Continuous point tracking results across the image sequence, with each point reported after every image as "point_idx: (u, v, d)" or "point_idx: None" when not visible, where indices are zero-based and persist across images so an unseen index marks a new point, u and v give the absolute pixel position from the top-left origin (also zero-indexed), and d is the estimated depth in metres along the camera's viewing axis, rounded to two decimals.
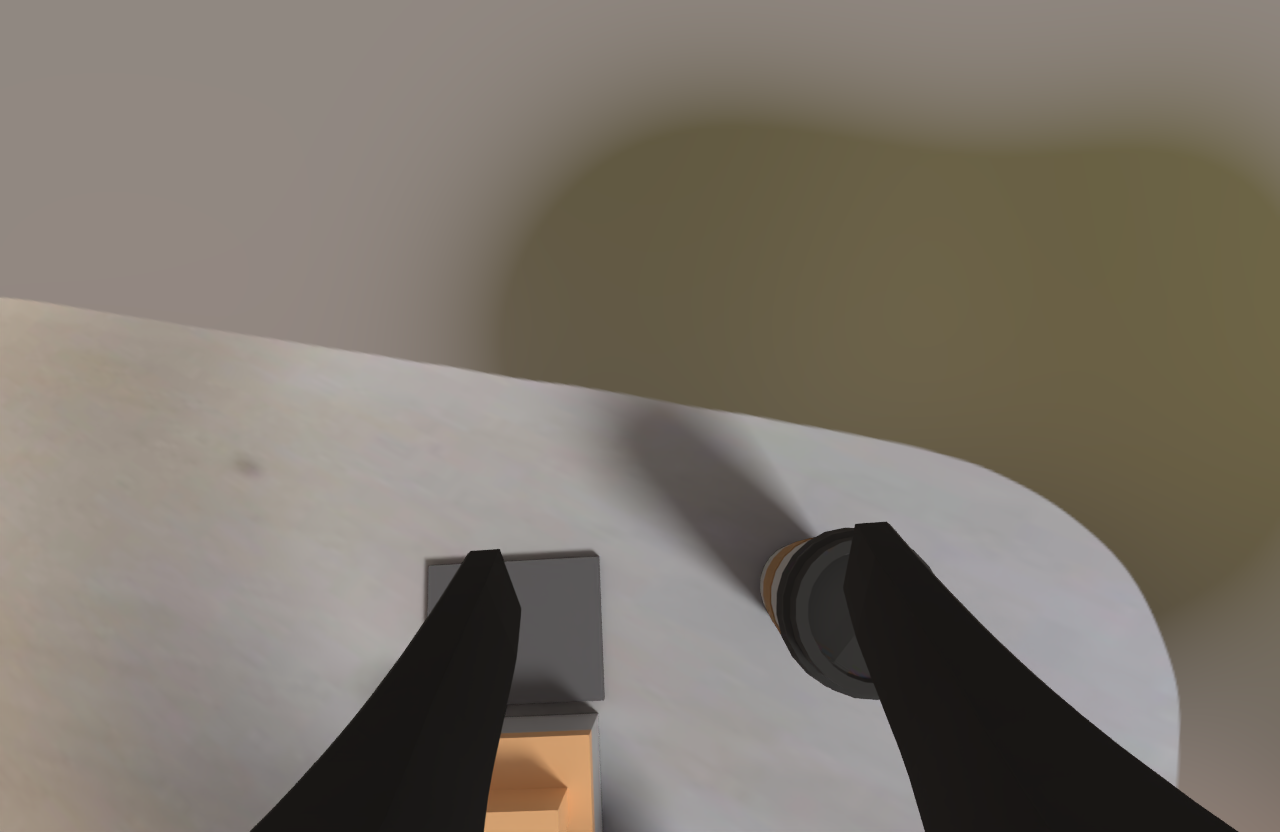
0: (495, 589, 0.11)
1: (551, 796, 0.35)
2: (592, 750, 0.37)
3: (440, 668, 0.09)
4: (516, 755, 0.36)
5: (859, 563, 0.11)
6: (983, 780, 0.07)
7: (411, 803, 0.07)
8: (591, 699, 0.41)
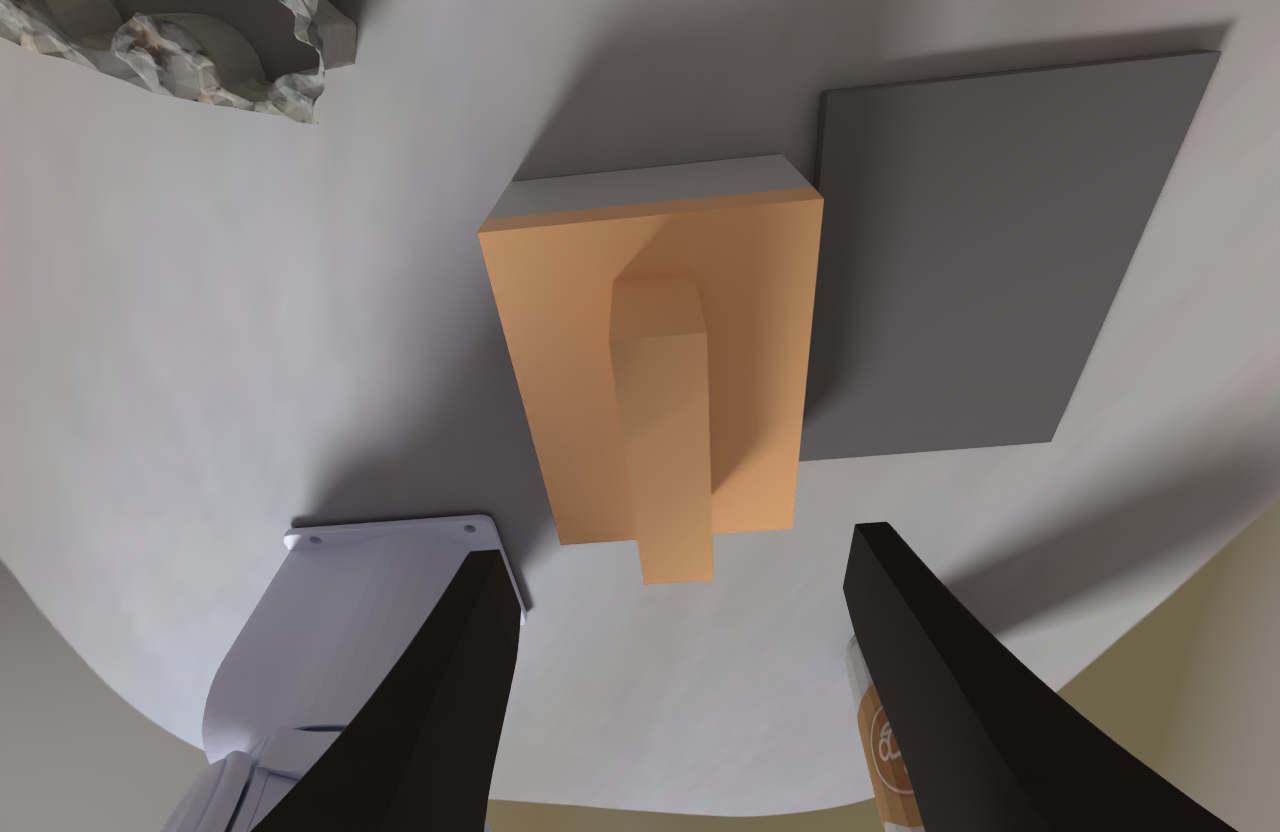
0: (495, 589, 0.11)
1: None
2: None
3: (440, 668, 0.09)
4: (767, 420, 0.17)
5: (859, 563, 0.11)
6: (983, 780, 0.07)
7: (411, 803, 0.07)
8: None
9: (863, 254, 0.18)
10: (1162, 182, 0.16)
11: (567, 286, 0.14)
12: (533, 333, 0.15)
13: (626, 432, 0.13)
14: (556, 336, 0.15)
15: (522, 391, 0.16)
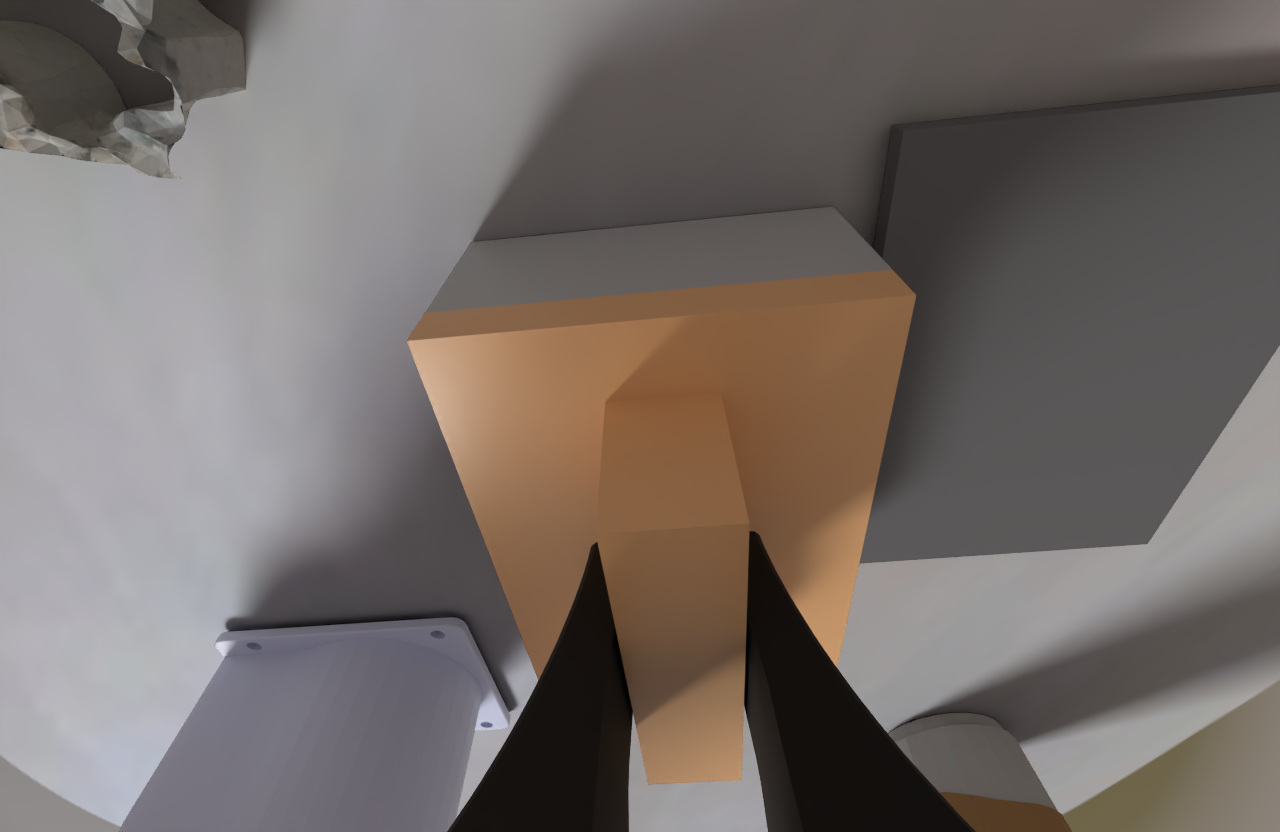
0: None
1: None
2: None
3: (601, 658, 0.09)
4: (812, 562, 0.12)
5: None
6: (783, 790, 0.07)
7: (602, 794, 0.07)
8: None
9: (935, 333, 0.13)
10: None
11: (540, 408, 0.10)
12: (495, 464, 0.11)
13: (624, 636, 0.09)
14: (527, 467, 0.11)
15: (484, 530, 0.12)
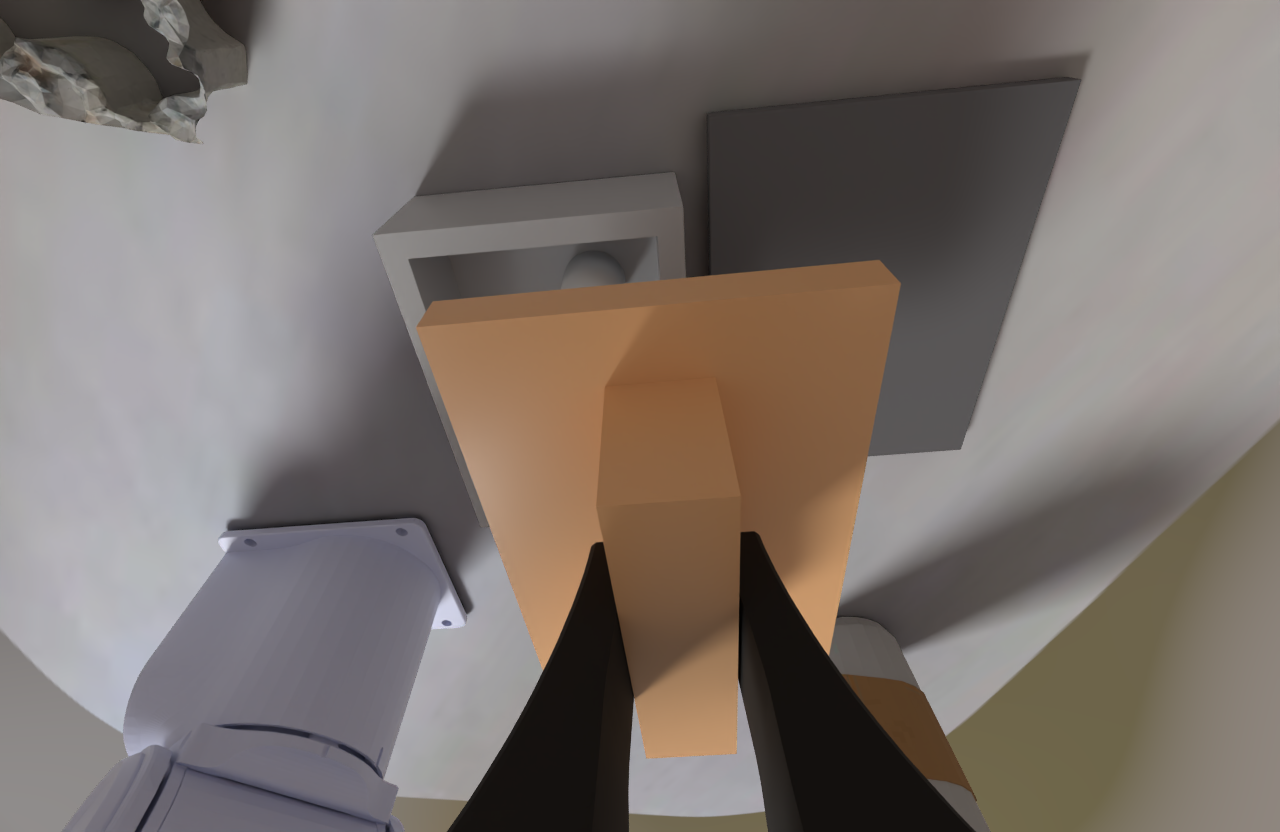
0: None
1: None
2: None
3: (601, 658, 0.09)
4: (804, 544, 0.13)
5: None
6: (783, 790, 0.07)
7: (602, 794, 0.07)
8: None
9: (759, 268, 0.18)
10: (1039, 202, 0.17)
11: (543, 392, 0.10)
12: (499, 448, 0.11)
13: (622, 608, 0.09)
14: (530, 451, 0.11)
15: (488, 512, 0.12)
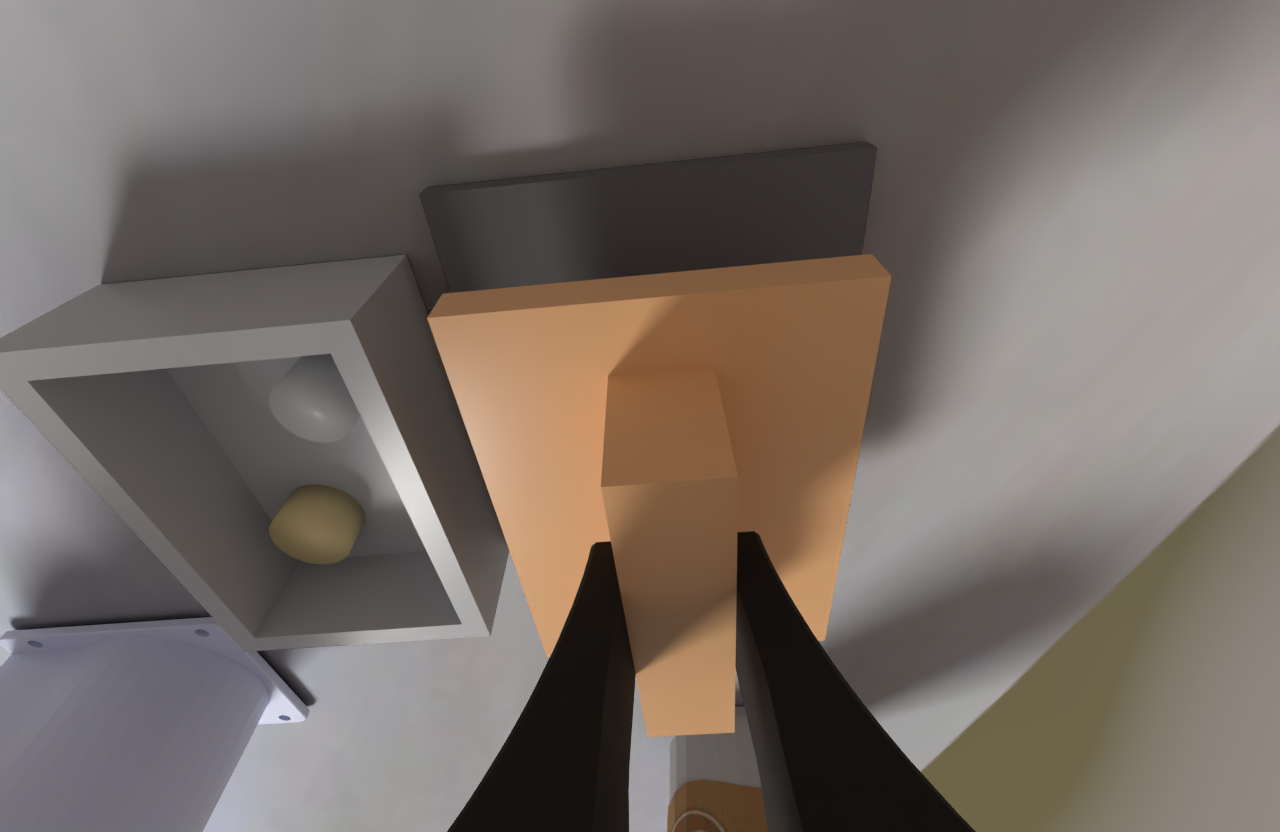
0: None
1: None
2: None
3: (602, 658, 0.09)
4: (801, 530, 0.13)
5: None
6: (783, 790, 0.07)
7: (602, 794, 0.07)
8: None
9: None
10: None
11: (548, 381, 0.11)
12: (506, 435, 0.12)
13: (625, 587, 0.10)
14: (536, 438, 0.12)
15: (494, 499, 0.13)
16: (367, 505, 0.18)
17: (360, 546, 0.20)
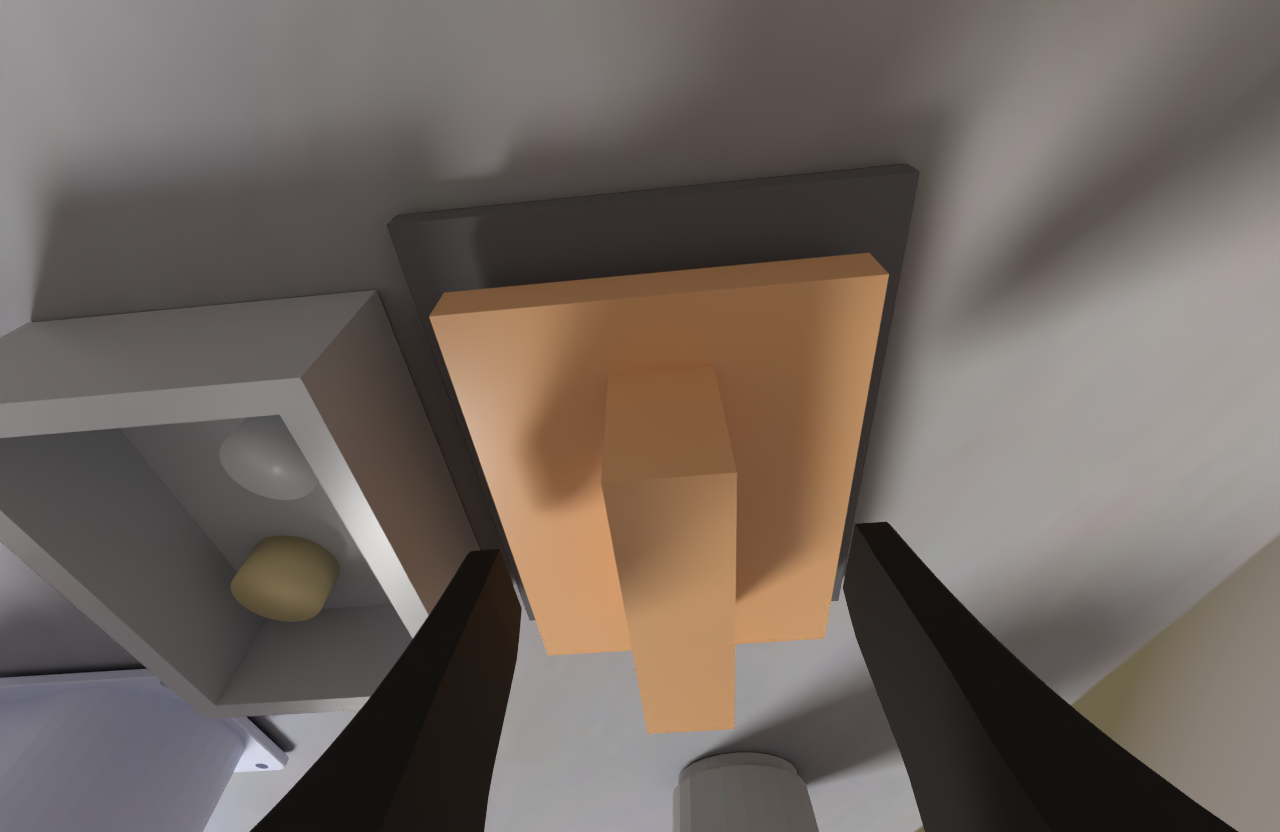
0: (495, 589, 0.11)
1: None
2: None
3: (440, 668, 0.09)
4: (800, 528, 0.13)
5: (859, 563, 0.11)
6: (983, 780, 0.07)
7: (411, 803, 0.07)
8: (526, 605, 0.18)
9: None
10: (886, 328, 0.12)
11: (549, 379, 0.11)
12: (507, 434, 0.12)
13: (625, 582, 0.10)
14: (536, 436, 0.12)
15: (495, 497, 0.13)
16: (341, 556, 0.17)
17: (335, 598, 0.18)
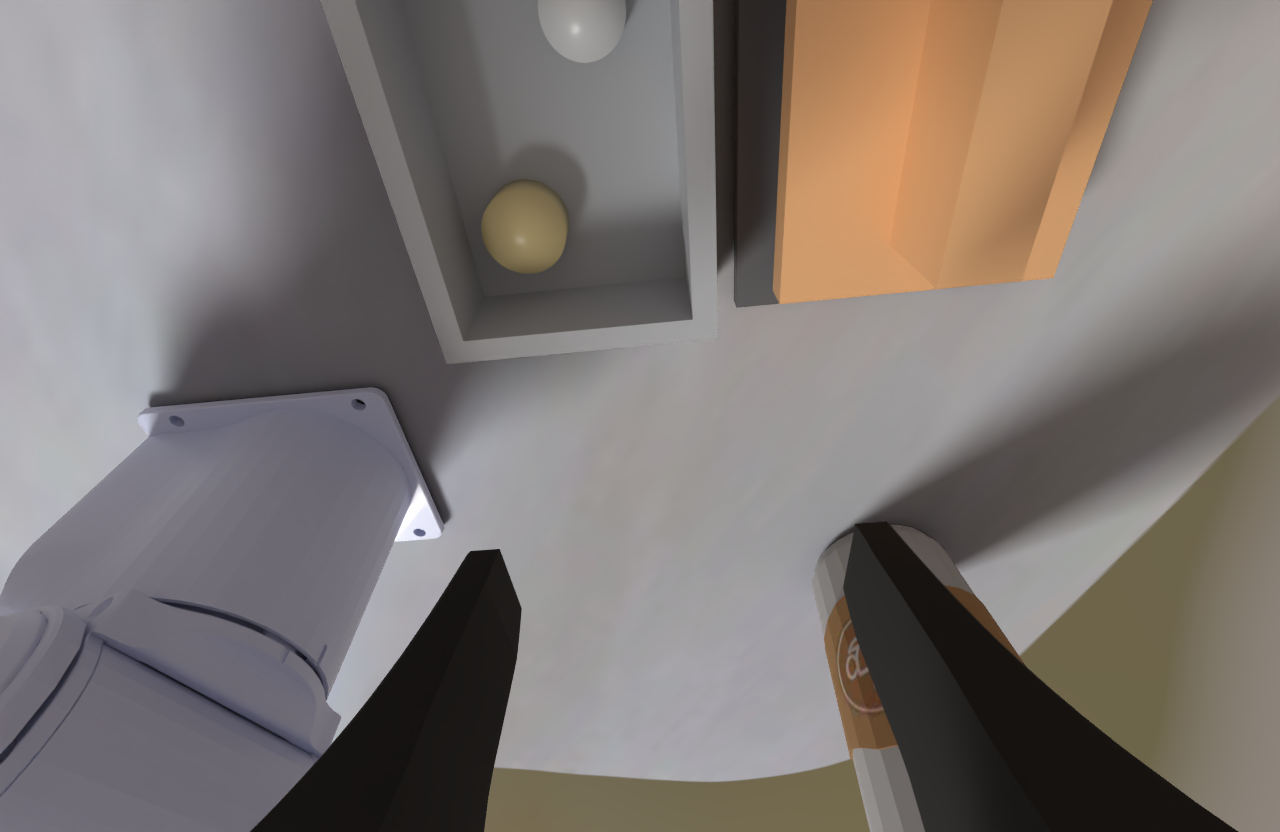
0: (495, 589, 0.11)
1: None
2: (672, 341, 0.17)
3: (440, 668, 0.09)
4: None
5: (859, 563, 0.11)
6: (983, 780, 0.07)
7: (411, 803, 0.07)
8: (739, 283, 0.18)
9: None
10: None
11: None
12: None
13: (1008, 0, 0.10)
14: None
15: (797, 46, 0.13)
16: (574, 211, 0.17)
17: (553, 275, 0.18)
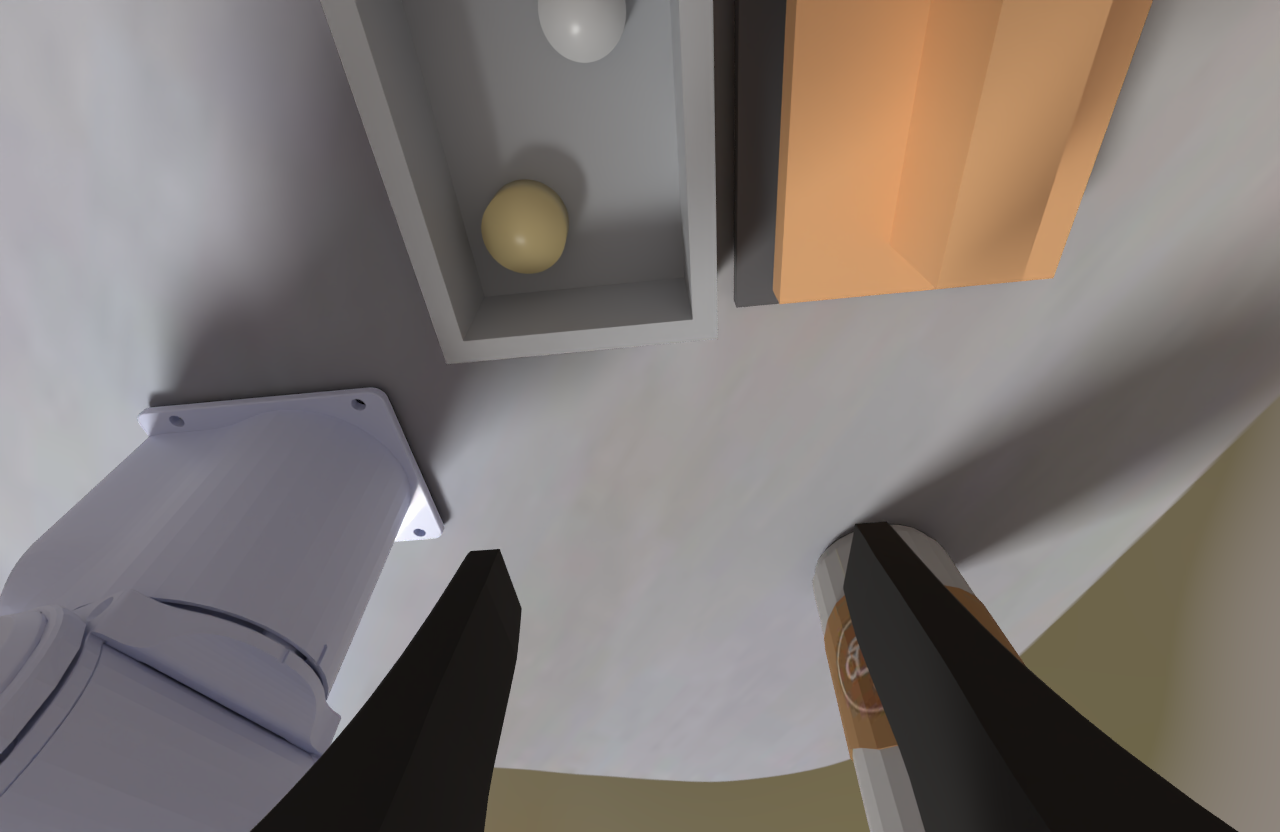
0: (495, 589, 0.11)
1: None
2: (672, 341, 0.17)
3: (440, 668, 0.09)
4: None
5: (860, 563, 0.11)
6: (983, 780, 0.07)
7: (411, 803, 0.07)
8: (739, 283, 0.18)
9: None
10: None
11: None
12: None
13: (1008, 0, 0.10)
14: None
15: (797, 46, 0.13)
16: (574, 211, 0.17)
17: (553, 275, 0.18)
